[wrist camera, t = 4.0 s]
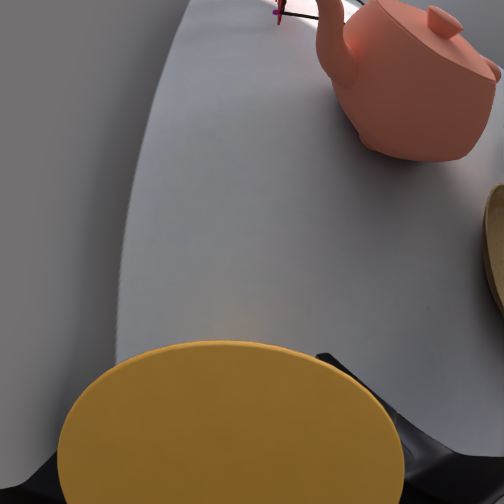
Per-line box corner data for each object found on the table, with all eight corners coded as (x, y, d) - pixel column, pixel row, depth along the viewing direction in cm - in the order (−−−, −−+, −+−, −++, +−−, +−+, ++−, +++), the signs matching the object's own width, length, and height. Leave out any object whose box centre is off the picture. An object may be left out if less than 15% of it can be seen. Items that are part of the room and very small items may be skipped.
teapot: (260, 64, 23) (274, -49, 11) (428, 87, 25) (472, 14, 13) (287, 179, 19) (339, 14, 7) (480, 183, 21) (557, 114, 9)
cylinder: (262, 431, 14) (334, 602, 2) (179, 410, 14) (57, 545, 2) (285, 353, 15) (444, 374, 3) (201, 331, 15) (90, 286, 3)
